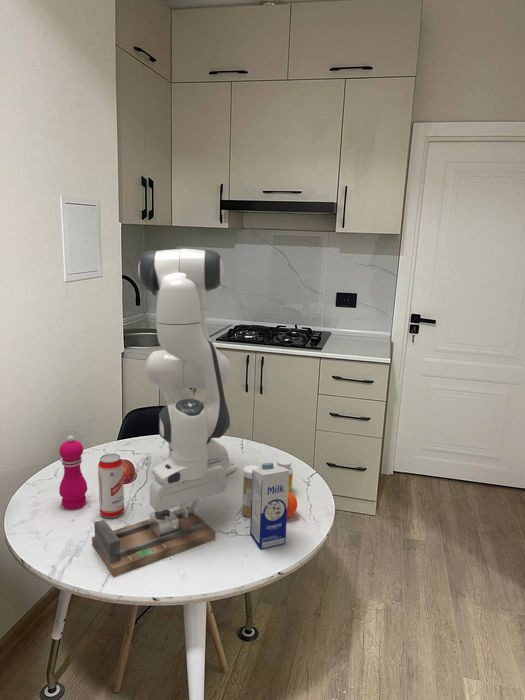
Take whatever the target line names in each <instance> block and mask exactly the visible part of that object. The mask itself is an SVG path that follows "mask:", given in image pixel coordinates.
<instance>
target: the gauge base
mask: <svg viewBox="0 0 525 700" xmlns="http://www.w3.org/2000/svg"><path fill="white" fill-rule="evenodd" d="M189 507H190V506H186V508H189ZM172 512H173V513H174V514H175V515H176V516H177V517H178V527H179V531H176V532H173V533H170V534H167V535H165V536H162V537H159V538H158V537H157V536H156V535H155V534H154V532H153V531H152V530H151V529H150V523H149V519H145V520H142V521H139V522H136V523H132V524H130V525H127V526H124V527H120V528H117V529H112V528H111V526H110V525H109V524H108V522H107V521H106V519H101V520H98V521H94V522H93V523H94V525H93V527H94V535H93V536H91V543H92V544H91V545H92V547H93V548H94V550H95V552H97V554H98V556H99V557H100V558H101V561H102V562H103V564H104V565H105V566H106V568H107V569H108V571H109V572H110V574H111V575H112V577H113V578H114V577H116V576H119V575H121V574H123V573H127V572H130V571H133V570H136V569H138V568H140V567H143V566H146V565H148V564H152V563H154V562H158V561H159V560H162V559H165V558H167V557H171V556H174V555H176V554H179V553H181V552H184V551H187V550H190V549H192V548H195V547H198V546H200V545H203V544H206V543H209V542H211V540H212V541H214V540H216V530H214V529H213V528H212V527H211V526H209V524H208V523H206V521H204V520H203V519H202V518H201V517H200V516H199V515H198V514H197V513H196V515H194V516H191V517H188V518H185V517H184V516H183V510H182V508H180V509H178V510H173V511H172ZM208 541H209V542H208Z"/></svg>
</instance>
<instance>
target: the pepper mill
mask: <svg viewBox="0 0 525 700" xmlns="http://www.w3.org/2000/svg"><path fill="white" fill-rule="evenodd" d="M83 453H84V447H83V444H82V442H80V441H78V440H75V437H74V436H73V435H68V436H67V438H66V441H64V442H63V443H61V445H60V447H59V453H58V454H59V455H60V458H62V459H61V464H62V466H63V469H64V470H63V471H64V472H63V476H62V479H61V481H60V484H59V489H58V490H59V491H58V492H59V495H60V497H61V507H62V508H63V509H65V510H77V509H80V508H82V507H84V506H85V505H86V503H87V496H86V493H87V492H88V483H87V480H86V479H85V477H84V476H83V473H82V469H81V464H82V461H83V460H82V458H83V457H82V455H83Z"/></svg>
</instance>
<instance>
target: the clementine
mask: <svg viewBox="0 0 525 700" xmlns="http://www.w3.org/2000/svg"><path fill="white" fill-rule="evenodd" d="M297 508H298V500H297V497H296V496H295V494H294V493H292V491H291V492H289V491H288V504H287V518H290V517H291V516H293V515H294V514H295V513H296V511H297Z"/></svg>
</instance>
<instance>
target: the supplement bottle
mask: <svg viewBox="0 0 525 700" xmlns="http://www.w3.org/2000/svg"><path fill="white" fill-rule="evenodd" d="M276 463H277V464H276V466H277V465H278V466H281V467H284V468H287V469H288V470H290V471H289V485H288V491H289V492H291V493H292V491H293V490H292V489H293V474H294V470H293V468H292V467H291V466H292V461H291V460H290V459H288V458H279V459H277V461H276Z"/></svg>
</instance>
